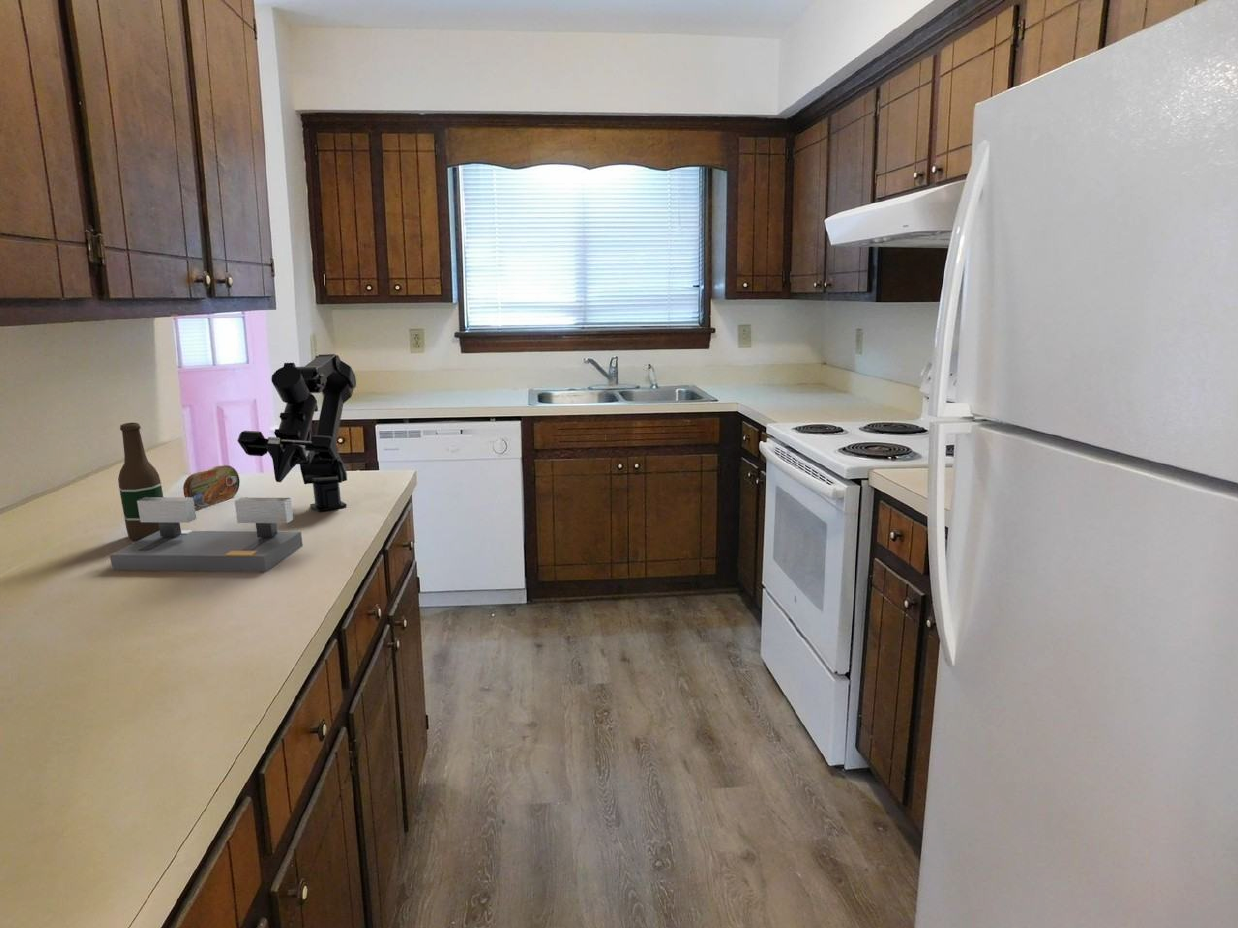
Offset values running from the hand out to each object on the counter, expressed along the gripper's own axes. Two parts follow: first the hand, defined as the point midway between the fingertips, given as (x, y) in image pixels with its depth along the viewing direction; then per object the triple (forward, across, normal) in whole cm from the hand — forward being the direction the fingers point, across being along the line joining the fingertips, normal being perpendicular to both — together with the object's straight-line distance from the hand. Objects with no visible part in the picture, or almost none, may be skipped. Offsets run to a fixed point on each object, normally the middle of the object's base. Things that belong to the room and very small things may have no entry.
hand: (277, 481), depth 159 cm
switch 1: (+11, +19, -5) cm, 23 cm away
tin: (-10, +28, -32) cm, 44 cm away
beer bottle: (+7, +30, -15) cm, 34 cm away
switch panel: (+16, +10, -3) cm, 19 cm away
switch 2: (+11, 0, -2) cm, 12 cm away
